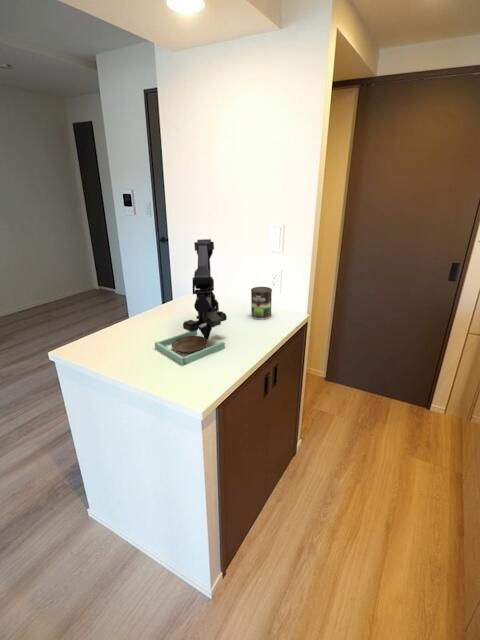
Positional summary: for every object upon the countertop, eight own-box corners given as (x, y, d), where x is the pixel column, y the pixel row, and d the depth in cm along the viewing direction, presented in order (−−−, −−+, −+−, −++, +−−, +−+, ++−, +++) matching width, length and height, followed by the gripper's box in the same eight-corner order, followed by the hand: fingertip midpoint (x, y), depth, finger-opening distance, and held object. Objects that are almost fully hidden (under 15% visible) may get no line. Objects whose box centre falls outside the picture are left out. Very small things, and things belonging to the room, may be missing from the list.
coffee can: (268, 320, 161) (268, 292, 156) (248, 318, 165) (247, 291, 160) (274, 313, 170) (274, 287, 165) (255, 311, 173) (255, 285, 168)
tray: (155, 348, 135) (154, 342, 134) (195, 334, 148) (195, 329, 147) (182, 365, 121) (182, 359, 120) (225, 348, 134) (224, 342, 133)
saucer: (165, 354, 130) (164, 348, 129) (182, 339, 143) (182, 333, 142) (199, 359, 126) (198, 352, 125) (214, 343, 139) (213, 337, 138)
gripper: (197, 315, 122) (200, 352, 128) (234, 303, 134) (235, 338, 140) (180, 308, 130) (184, 344, 136) (217, 298, 142) (219, 331, 147)
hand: (206, 339), depth 139 cm, fingers closed
